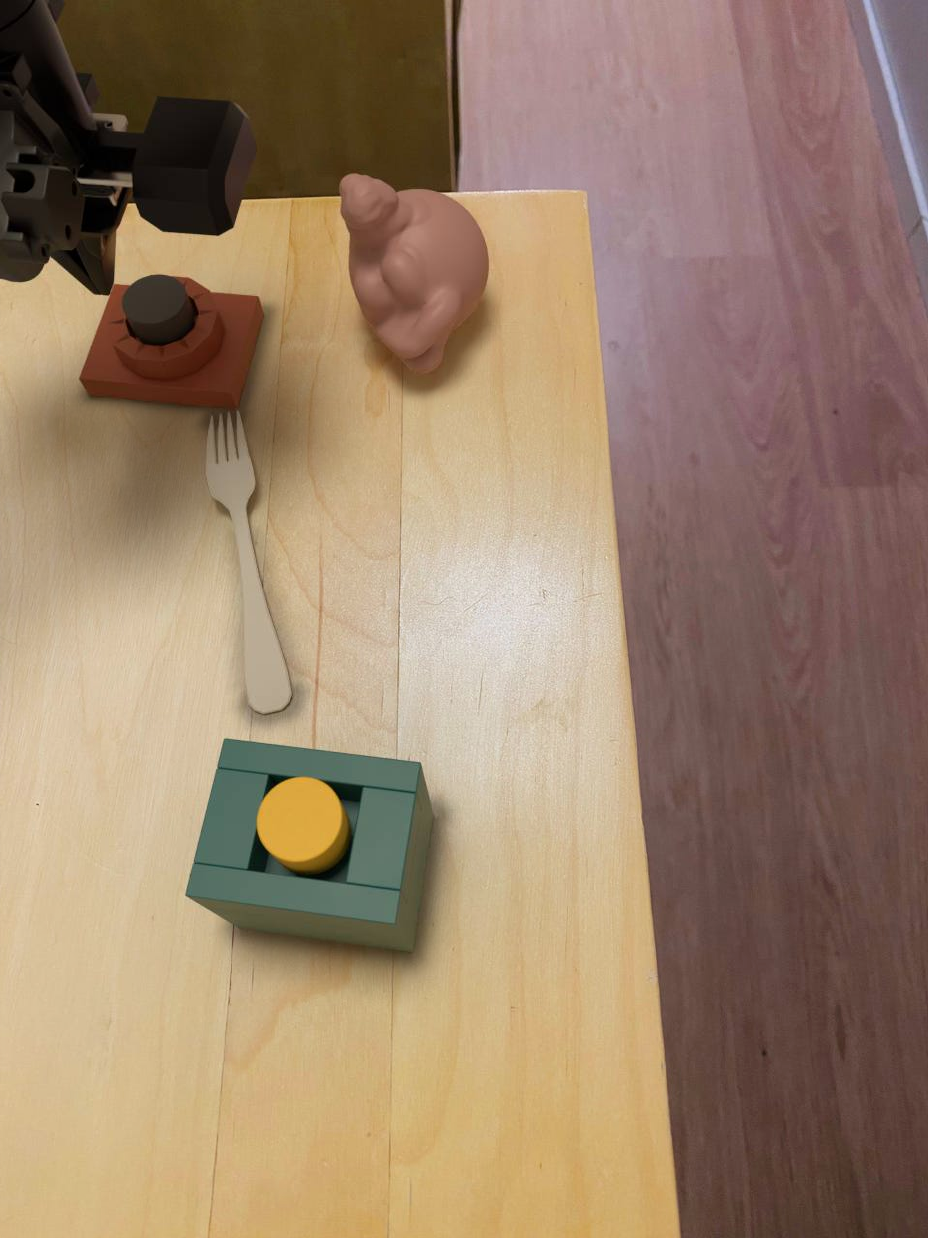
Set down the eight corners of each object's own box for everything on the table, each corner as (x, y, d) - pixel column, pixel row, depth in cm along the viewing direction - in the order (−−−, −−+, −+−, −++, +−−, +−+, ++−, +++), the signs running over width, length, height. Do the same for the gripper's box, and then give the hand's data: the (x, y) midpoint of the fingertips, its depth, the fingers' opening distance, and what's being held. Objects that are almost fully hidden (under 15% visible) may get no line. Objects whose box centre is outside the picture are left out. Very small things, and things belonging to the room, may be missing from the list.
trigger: (262, 869, 43) (247, 856, 41) (280, 789, 45) (266, 771, 42) (343, 880, 43) (333, 867, 40) (358, 799, 45) (349, 781, 42)
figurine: (359, 399, 64) (331, 259, 53) (357, 269, 69) (330, 116, 58) (496, 389, 64) (496, 247, 53) (484, 260, 69) (482, 105, 58)
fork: (256, 727, 57) (246, 716, 55) (203, 418, 64) (191, 394, 61) (304, 716, 57) (297, 704, 55) (246, 409, 64) (237, 385, 61)
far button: (124, 343, 63) (113, 320, 61) (142, 294, 64) (131, 271, 62) (186, 348, 62) (176, 326, 60) (201, 299, 64) (193, 276, 62)
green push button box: (238, 928, 50) (184, 896, 42) (268, 793, 53) (223, 737, 45) (413, 952, 50) (395, 925, 41) (434, 814, 52) (421, 762, 44)
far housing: (88, 395, 65) (67, 360, 62) (122, 301, 68) (104, 263, 65) (237, 409, 64) (223, 374, 61) (264, 313, 67) (252, 275, 64)
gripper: (-357, 123, 36) (-119, 396, 50) (143, 157, 35) (243, 428, 49) (-229, -64, 41) (-44, 234, 55) (216, -41, 39) (288, 258, 53)
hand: (104, 289), depth 53 cm, fingers closed
